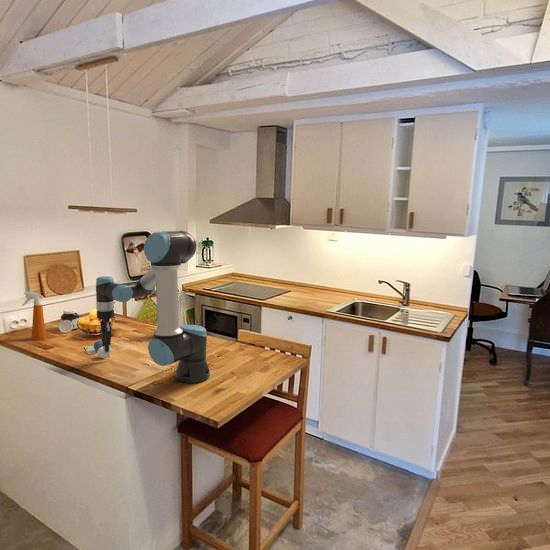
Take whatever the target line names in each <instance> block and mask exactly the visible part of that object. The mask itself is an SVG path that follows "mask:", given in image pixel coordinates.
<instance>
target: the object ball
mask: <svg viewBox="0 0 550 550" xmlns="http://www.w3.org/2000/svg"><path fill="white" fill-rule="evenodd" d="M102 344H103V343H102V340H97V341H95V343H93V346H94V349H95V350H96V351H98V349H99V348H100V347H103V346H102Z"/></svg>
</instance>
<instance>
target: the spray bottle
mask: <svg viewBox="0 0 550 550" xmlns="http://www.w3.org/2000/svg"><path fill="white" fill-rule="evenodd" d="M24 295H26V300H25V301H24V303H22V305H21V307H24V306H25V305H26V304H28V303H29V302H30V301H31V300H33V308H32V325H31V340H32V341H44V340H45V339H47V332H46V324H45V319H44V318H45V317H44V313H43V307H42V306H43V305H42V299H44V295H42V294H40V293H37V292H34V291H25V292H24Z"/></svg>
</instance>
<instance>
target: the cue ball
mask: <svg viewBox="0 0 550 550" xmlns="http://www.w3.org/2000/svg"><path fill="white" fill-rule="evenodd" d="M96 355H97V357H98V358H100V359H104V358H103V347H100V348H99V349H98V351H97V354H96Z"/></svg>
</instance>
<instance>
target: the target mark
mask: <svg viewBox="0 0 550 550" xmlns="http://www.w3.org/2000/svg"><path fill="white" fill-rule="evenodd" d="M85 347H86V348H87V347H88V349H87V351H89V352H90V355H96V354H95V353H97V351H96V350H95V349H94V345H89V346H85ZM86 348H85V349H86ZM85 349H84V350H85ZM113 351H114V349H113V348H112V347H111V346H110V352H113ZM89 352H88V353H89Z"/></svg>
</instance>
